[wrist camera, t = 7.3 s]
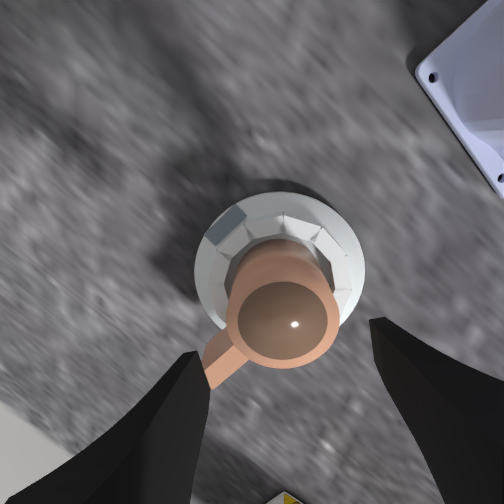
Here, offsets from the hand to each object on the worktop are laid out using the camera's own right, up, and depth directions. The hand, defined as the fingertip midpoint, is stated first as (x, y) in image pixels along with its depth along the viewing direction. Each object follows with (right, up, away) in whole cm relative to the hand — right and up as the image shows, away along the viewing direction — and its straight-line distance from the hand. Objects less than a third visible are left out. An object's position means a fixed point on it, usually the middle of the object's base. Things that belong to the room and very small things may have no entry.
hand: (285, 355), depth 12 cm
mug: (-1, +1, +8) cm, 8 cm away
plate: (0, +3, +8) cm, 8 cm away
